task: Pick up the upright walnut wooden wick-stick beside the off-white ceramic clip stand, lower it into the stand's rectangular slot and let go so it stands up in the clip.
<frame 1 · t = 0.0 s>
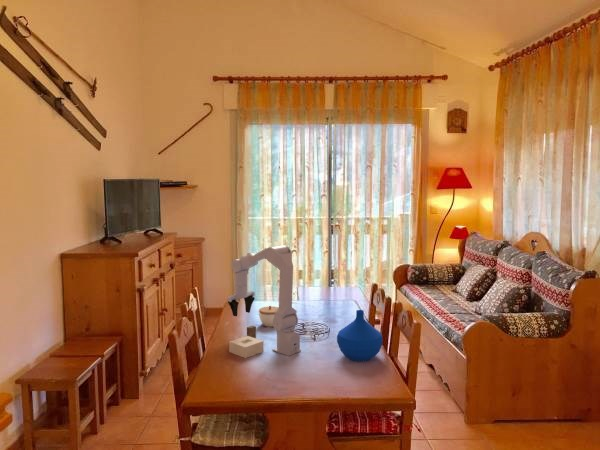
hand: (241, 314, 217), 10 cm above the table, tool pointing down, fingers open, 7 cm apart
vase: (359, 357, 192), on the table
lidded jar: (270, 325, 234), on the table
clip stand: (246, 351, 197), on the table
wood wick: (251, 342, 209), on the table
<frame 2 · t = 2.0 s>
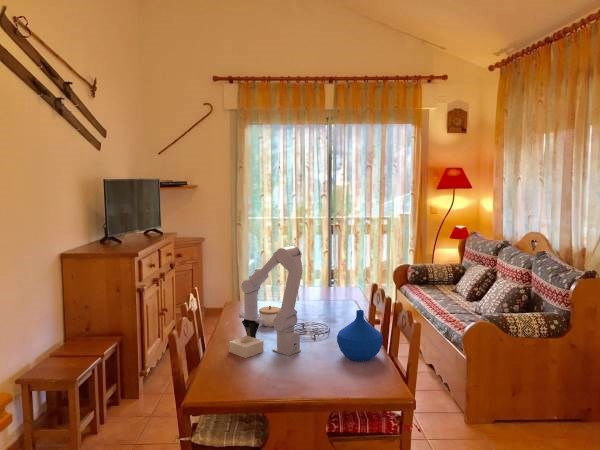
hand: (251, 336, 208), 3 cm above the table, tool pointing down, fingers closed on wood wick, 2 cm apart
wood wick: (251, 342, 209), on the table, touching gripper
everything else where it was.
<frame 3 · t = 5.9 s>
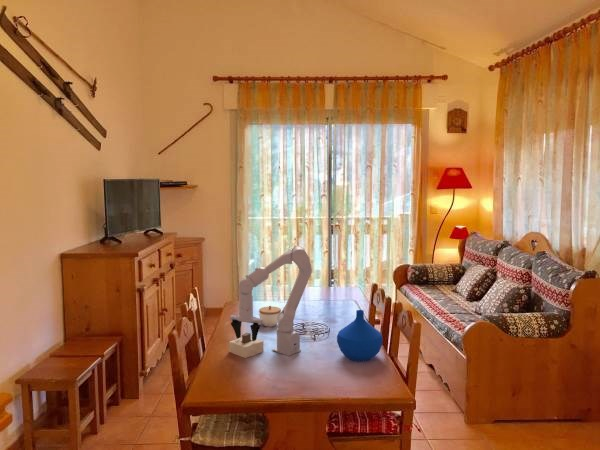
hand: (246, 339, 197), 5 cm above the table, tool pointing down, fingers open, 7 cm apart
wood wick: (246, 350, 197), resting on clip stand
everything else where it was.
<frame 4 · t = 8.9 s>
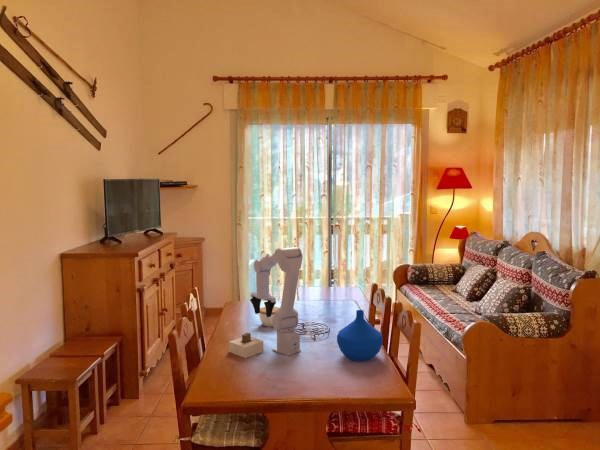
hand: (263, 315, 216), 10 cm above the table, tool pointing down, fingers open, 7 cm apart
nothing on the table moved.
at the end: wood wick 0.1 cm off-centre on the clip stand, point 0.5 cm above the clip stand's base; wood wick tilted 0°; the gripper is holding nothing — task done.
